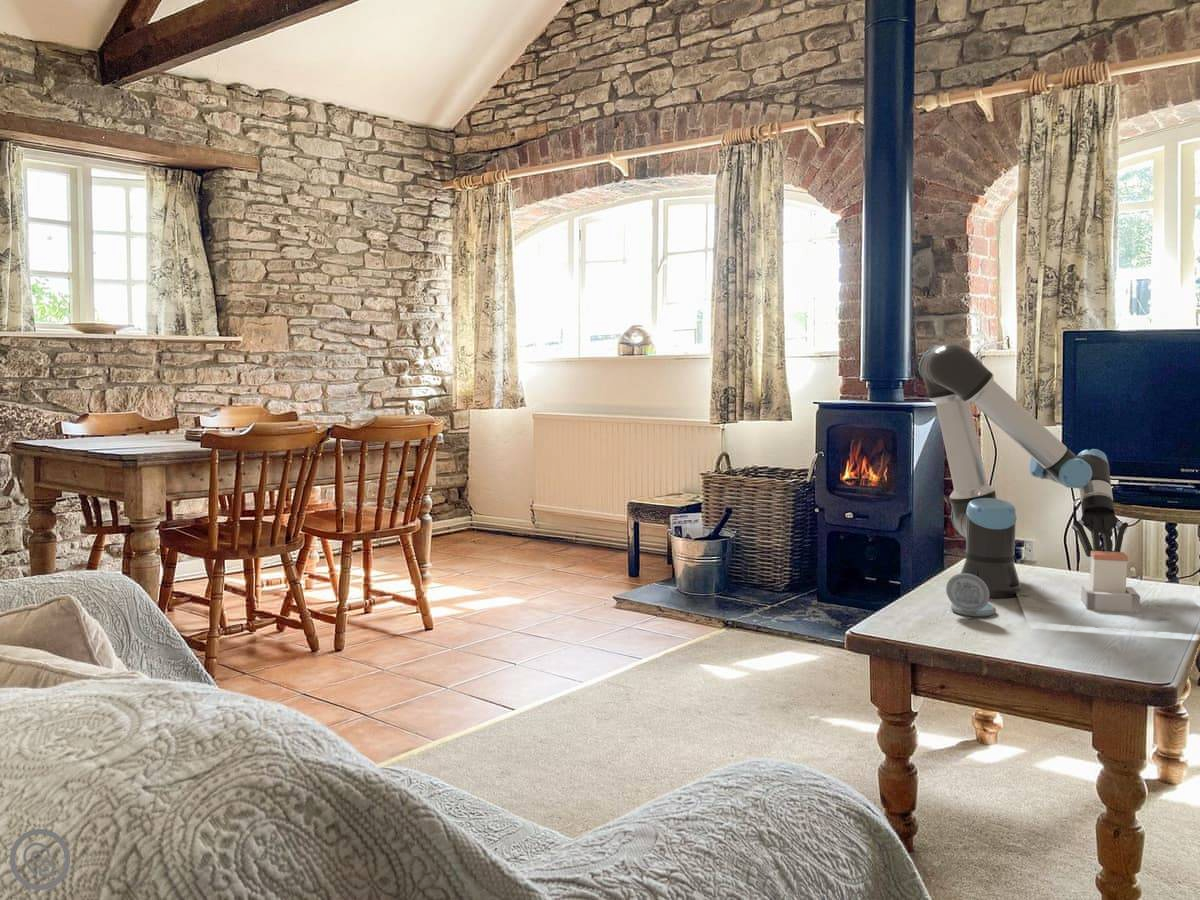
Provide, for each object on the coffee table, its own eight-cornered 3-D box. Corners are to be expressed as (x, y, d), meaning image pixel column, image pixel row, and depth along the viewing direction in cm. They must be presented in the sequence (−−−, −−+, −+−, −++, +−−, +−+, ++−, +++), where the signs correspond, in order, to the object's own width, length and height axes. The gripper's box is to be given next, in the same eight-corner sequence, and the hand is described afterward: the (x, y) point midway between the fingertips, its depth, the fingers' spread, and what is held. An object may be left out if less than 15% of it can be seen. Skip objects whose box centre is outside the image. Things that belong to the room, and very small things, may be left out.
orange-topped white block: (1088, 598, 243) (1090, 550, 242) (1121, 600, 241) (1123, 552, 239) (1092, 603, 238) (1094, 554, 237) (1125, 606, 236) (1127, 556, 234)
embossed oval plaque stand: (944, 571, 231) (960, 559, 243) (943, 616, 232) (958, 603, 245) (989, 576, 226) (1003, 564, 238) (988, 623, 227) (1001, 608, 239)
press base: (1068, 595, 251) (1069, 575, 251) (1130, 599, 247) (1131, 579, 246) (1080, 615, 232) (1081, 594, 232) (1147, 619, 228) (1148, 598, 228)
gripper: (1122, 511, 257) (1133, 589, 243) (1067, 509, 261) (1074, 586, 247) (1127, 494, 252) (1138, 573, 237) (1071, 492, 255) (1079, 569, 241)
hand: (1106, 579), depth 242 cm, fingers closed
